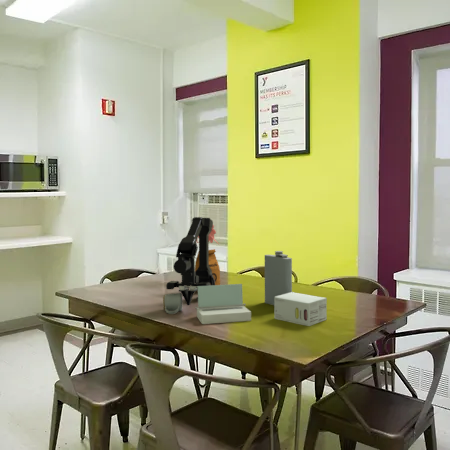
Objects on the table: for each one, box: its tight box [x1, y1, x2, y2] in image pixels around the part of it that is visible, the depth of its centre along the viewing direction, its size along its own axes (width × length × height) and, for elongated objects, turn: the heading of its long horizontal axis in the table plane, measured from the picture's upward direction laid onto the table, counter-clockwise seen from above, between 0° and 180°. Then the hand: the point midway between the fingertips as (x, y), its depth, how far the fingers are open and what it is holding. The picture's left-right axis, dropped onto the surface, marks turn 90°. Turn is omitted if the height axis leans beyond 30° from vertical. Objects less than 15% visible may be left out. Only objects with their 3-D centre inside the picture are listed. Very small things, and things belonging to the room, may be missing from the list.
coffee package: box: [195, 248, 221, 292], centre depth 246 cm, size 10×12×22 cm
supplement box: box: [273, 291, 328, 327], centre depth 188 cm, size 17×13×9 cm
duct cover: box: [197, 283, 244, 309], centre depth 195 cm, size 19×9×1 cm
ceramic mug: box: [162, 292, 183, 315], centre depth 204 cm, size 11×8×8 cm
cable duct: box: [194, 303, 252, 325], centre depth 191 cm, size 21×12×4 cm, turn 104°
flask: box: [264, 250, 293, 306], centre depth 212 cm, size 17×5×25 cm, turn 31°
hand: (188, 305), depth 204 cm, fingers closed
